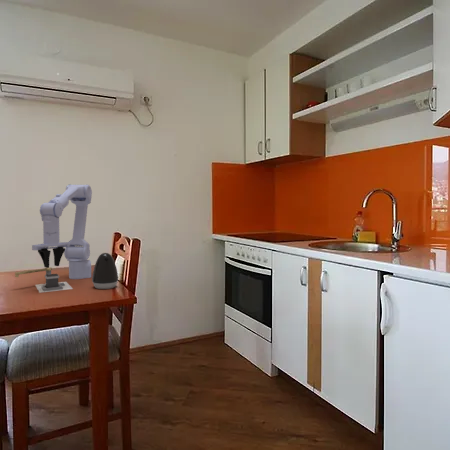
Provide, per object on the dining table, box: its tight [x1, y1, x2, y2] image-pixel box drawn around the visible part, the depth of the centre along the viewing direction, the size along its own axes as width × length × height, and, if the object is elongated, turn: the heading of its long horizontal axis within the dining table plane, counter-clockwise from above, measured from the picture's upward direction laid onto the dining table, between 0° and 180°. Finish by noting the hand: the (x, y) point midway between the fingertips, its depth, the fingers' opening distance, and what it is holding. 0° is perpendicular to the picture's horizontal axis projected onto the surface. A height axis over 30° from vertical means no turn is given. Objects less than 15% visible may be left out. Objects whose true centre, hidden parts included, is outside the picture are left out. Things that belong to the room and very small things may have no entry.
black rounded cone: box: [91, 252, 119, 290], centre depth 145 cm, size 10×10×15 cm
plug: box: [44, 273, 60, 288], centre depth 141 cm, size 5×5×6 cm
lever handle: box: [14, 267, 53, 278], centre depth 144 cm, size 3×14×2 cm, turn 145°
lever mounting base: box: [35, 270, 74, 294], centre depth 144 cm, size 12×15×7 cm
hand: (51, 266), depth 140 cm, fingers open, 4 cm apart
